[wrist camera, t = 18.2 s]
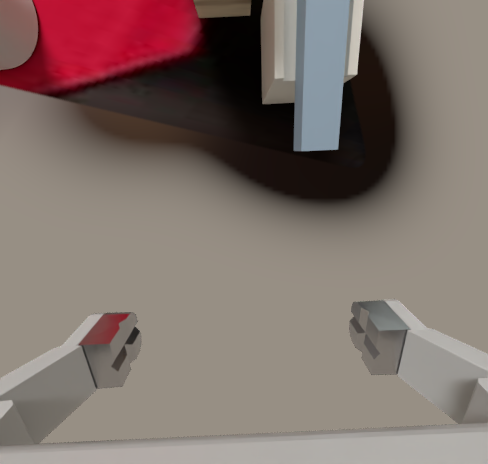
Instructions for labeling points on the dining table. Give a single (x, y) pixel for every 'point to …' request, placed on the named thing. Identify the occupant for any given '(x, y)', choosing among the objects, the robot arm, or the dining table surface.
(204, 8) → the post
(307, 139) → the bar
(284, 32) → the cream block
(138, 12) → the dining table surface
